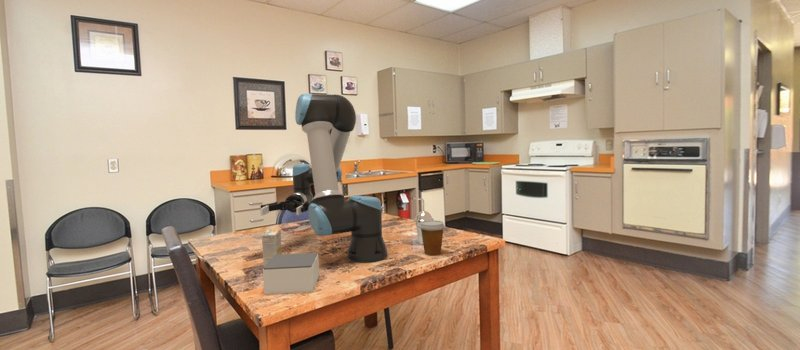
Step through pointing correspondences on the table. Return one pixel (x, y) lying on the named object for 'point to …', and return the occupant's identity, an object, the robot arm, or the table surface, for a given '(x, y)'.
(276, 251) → the supplement box
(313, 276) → the riser block
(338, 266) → the table surface
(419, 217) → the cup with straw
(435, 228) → the disposable coffee cup
